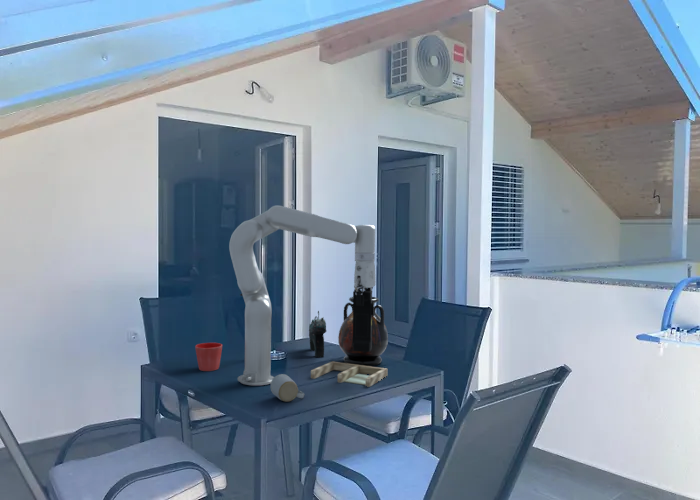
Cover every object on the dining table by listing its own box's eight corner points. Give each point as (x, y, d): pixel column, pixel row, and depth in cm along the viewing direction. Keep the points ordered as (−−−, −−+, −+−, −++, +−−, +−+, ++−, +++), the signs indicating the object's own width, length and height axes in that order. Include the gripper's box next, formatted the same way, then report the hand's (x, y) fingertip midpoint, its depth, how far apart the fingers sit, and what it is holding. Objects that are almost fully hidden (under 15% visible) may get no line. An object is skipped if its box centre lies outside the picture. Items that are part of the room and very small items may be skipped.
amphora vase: (395, 360, 251) (396, 297, 250) (374, 370, 231) (376, 302, 230) (351, 354, 260) (353, 293, 259) (328, 364, 241) (329, 298, 240)
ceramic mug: (278, 404, 185) (279, 380, 185) (269, 397, 192) (270, 374, 192) (308, 400, 190) (309, 377, 190) (298, 394, 197) (299, 372, 197)
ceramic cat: (326, 358, 253) (327, 313, 252) (312, 358, 251) (313, 313, 251) (319, 348, 272) (319, 307, 271) (305, 349, 271) (306, 307, 270)
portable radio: (374, 348, 220) (375, 284, 219) (372, 352, 214) (373, 285, 213) (354, 348, 221) (354, 283, 220) (352, 351, 215) (352, 285, 214)
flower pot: (189, 370, 226) (189, 346, 226) (204, 364, 236) (204, 341, 236) (213, 373, 223) (213, 348, 222) (227, 367, 233) (227, 343, 233)
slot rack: (369, 386, 207) (369, 378, 207) (310, 378, 218) (310, 370, 218) (387, 376, 223) (387, 368, 223) (332, 368, 234) (332, 361, 234)
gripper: (364, 258, 206) (363, 308, 207) (382, 257, 222) (381, 303, 223) (345, 258, 210) (344, 306, 210) (365, 256, 225) (364, 301, 226)
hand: (363, 304), depth 216 cm, fingers closed on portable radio, 6 cm apart
